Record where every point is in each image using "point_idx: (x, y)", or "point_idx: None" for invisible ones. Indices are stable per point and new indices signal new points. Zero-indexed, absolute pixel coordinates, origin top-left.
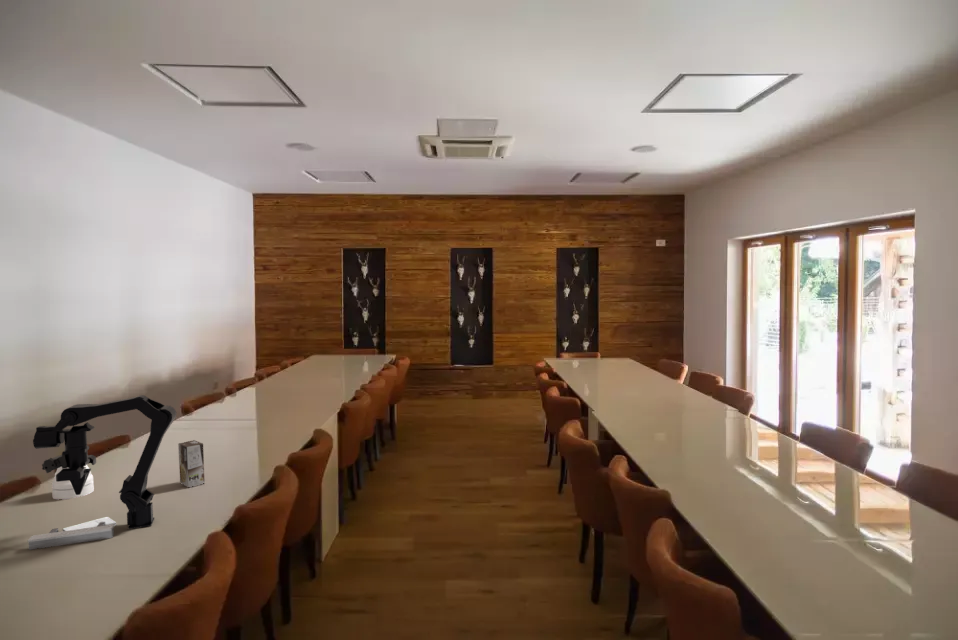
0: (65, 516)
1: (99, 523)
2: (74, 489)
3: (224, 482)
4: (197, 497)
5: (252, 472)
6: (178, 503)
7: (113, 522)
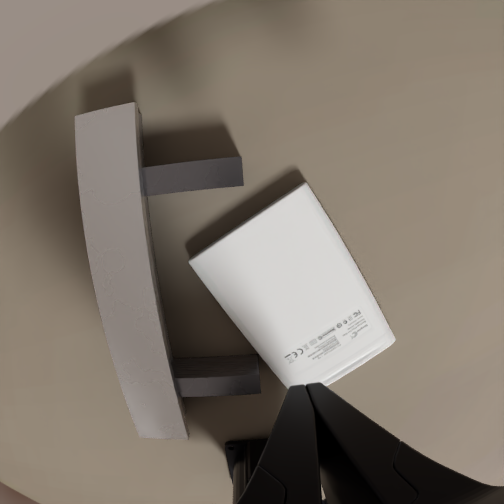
0: (485, 139)
1: (244, 377)
2: (274, 431)
3: None
4: None
5: None
6: None
7: None
